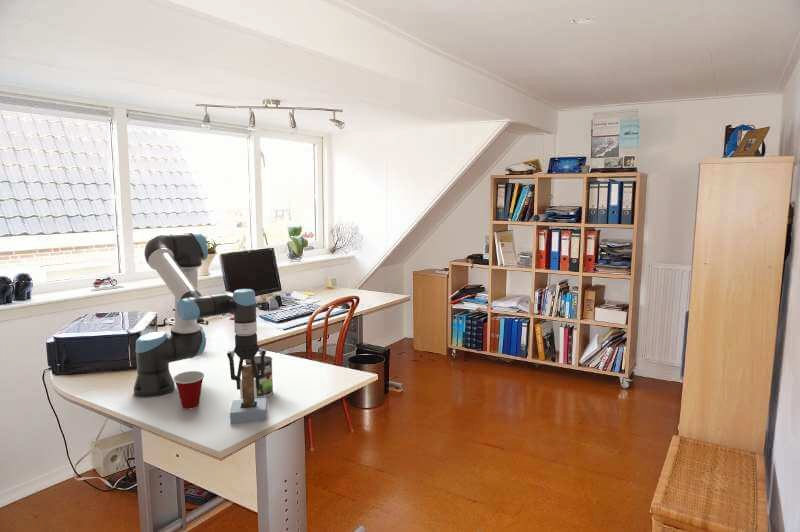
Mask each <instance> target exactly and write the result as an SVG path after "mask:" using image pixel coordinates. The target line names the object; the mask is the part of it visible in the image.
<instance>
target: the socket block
mask: <svg viewBox="0 0 800 532" xmlns="http://www.w3.org/2000/svg"><path fill="white" fill-rule="evenodd" d="M267 400H268V399H267V397H263V398H255V407H252V408H243V399H234V400H232V403H231V407H230V410H229V419H230V420H229V421H230V422H229V423H230V425H235V424H243V423H244V424H245V423H256V422H255V421H258V422H266V421H267V415H268V414H267V412H268V411H267V410H268V405H267V404H268V402H267ZM266 414H267V415H266ZM265 420H266V421H265Z"/></svg>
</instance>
